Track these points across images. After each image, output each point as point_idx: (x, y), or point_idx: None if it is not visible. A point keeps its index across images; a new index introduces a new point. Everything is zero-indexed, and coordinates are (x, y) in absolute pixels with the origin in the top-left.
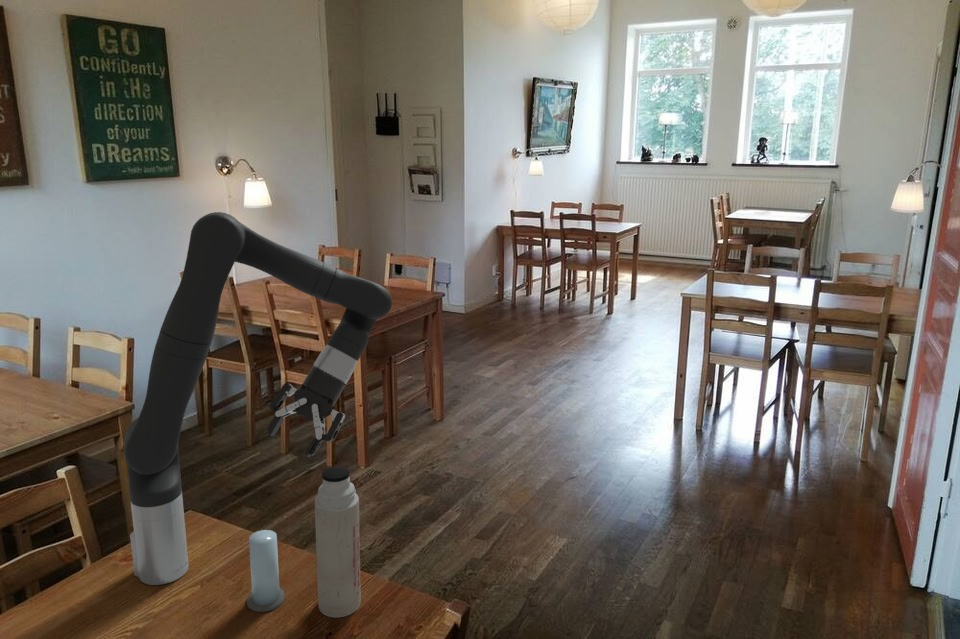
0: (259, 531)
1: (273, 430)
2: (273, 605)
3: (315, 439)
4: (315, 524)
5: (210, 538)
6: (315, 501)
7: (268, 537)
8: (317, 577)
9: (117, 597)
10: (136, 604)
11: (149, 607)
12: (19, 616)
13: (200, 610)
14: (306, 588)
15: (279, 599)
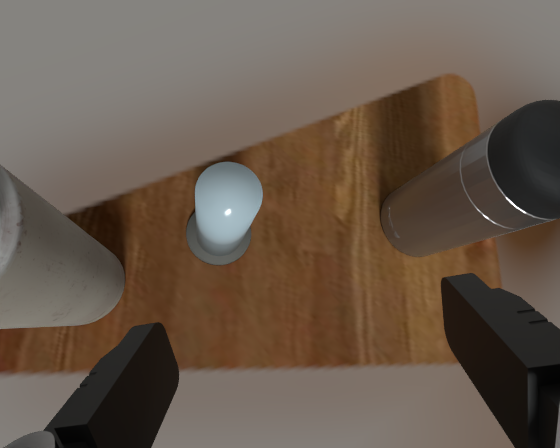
0: (255, 209)
1: (460, 299)
2: (192, 220)
3: (66, 424)
4: (53, 209)
5: (432, 328)
6: (2, 173)
7: (216, 198)
8: (103, 248)
9: (412, 153)
10: (379, 152)
11: (360, 153)
12: (468, 89)
13: (293, 174)
14: (172, 292)
15: (193, 237)
